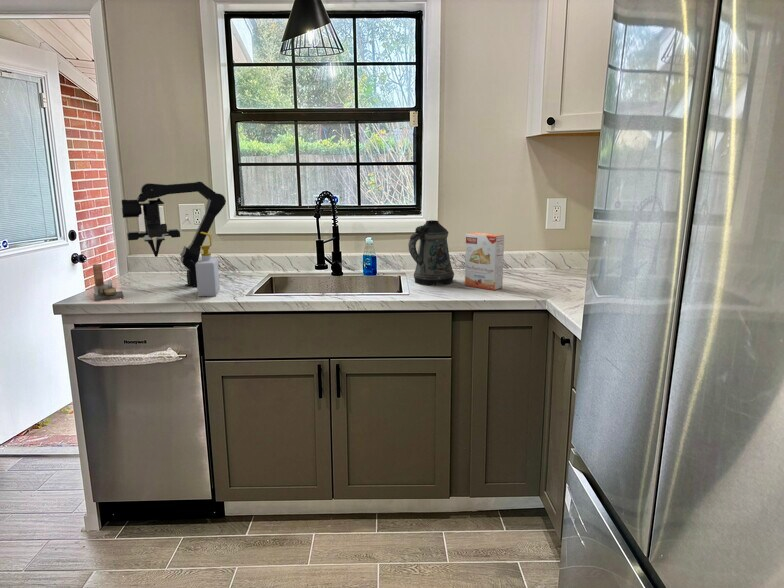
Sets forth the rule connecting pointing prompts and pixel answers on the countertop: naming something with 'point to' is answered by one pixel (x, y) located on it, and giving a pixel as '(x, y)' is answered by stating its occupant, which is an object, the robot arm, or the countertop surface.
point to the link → (101, 279)
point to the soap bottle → (207, 272)
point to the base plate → (109, 296)
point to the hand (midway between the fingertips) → (156, 256)
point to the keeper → (99, 288)
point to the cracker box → (484, 260)
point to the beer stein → (431, 255)
